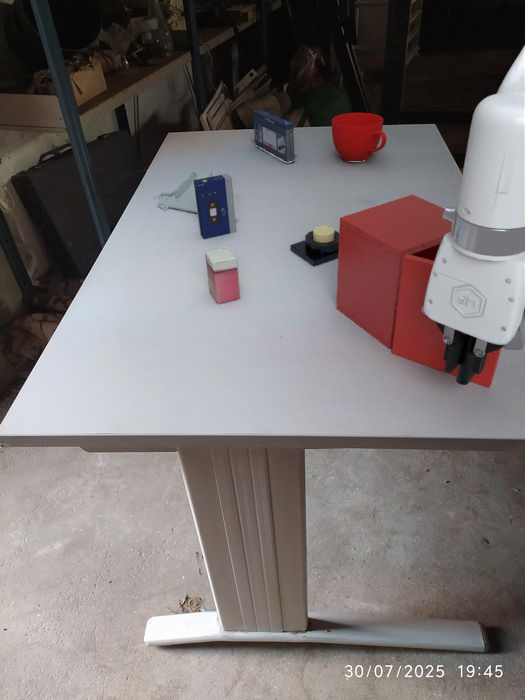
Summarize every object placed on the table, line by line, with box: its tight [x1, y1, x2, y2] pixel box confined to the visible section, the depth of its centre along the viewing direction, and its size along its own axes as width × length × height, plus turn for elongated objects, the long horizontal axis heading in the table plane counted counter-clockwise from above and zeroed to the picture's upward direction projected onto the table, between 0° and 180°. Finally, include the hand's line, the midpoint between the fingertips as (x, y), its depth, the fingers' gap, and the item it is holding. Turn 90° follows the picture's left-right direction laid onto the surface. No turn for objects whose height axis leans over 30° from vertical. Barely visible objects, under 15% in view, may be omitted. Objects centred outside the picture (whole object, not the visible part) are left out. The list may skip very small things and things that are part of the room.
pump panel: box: [290, 229, 339, 267], centre depth 103 cm, size 10×8×3 cm
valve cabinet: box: [335, 194, 452, 350], centre depth 81 cm, size 13×14×16 cm
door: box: [391, 254, 504, 389], centre depth 68 cm, size 7×14×16 cm, turn 54°
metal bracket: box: [157, 170, 214, 218], centre depth 125 cm, size 14×6×15 cm
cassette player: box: [194, 173, 237, 240], centre depth 109 cm, size 7×2×12 cm, turn 112°
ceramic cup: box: [331, 112, 387, 162], centre depth 139 cm, size 13×17×10 cm
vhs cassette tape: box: [252, 109, 296, 162], centre depth 147 cm, size 18×3×10 cm, turn 27°
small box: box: [204, 245, 241, 305], centre depth 91 cm, size 5×4×8 cm
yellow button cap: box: [312, 225, 335, 243], centre depth 102 cm, size 4×4×2 cm
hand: (462, 369), depth 65 cm, fingers closed on door
